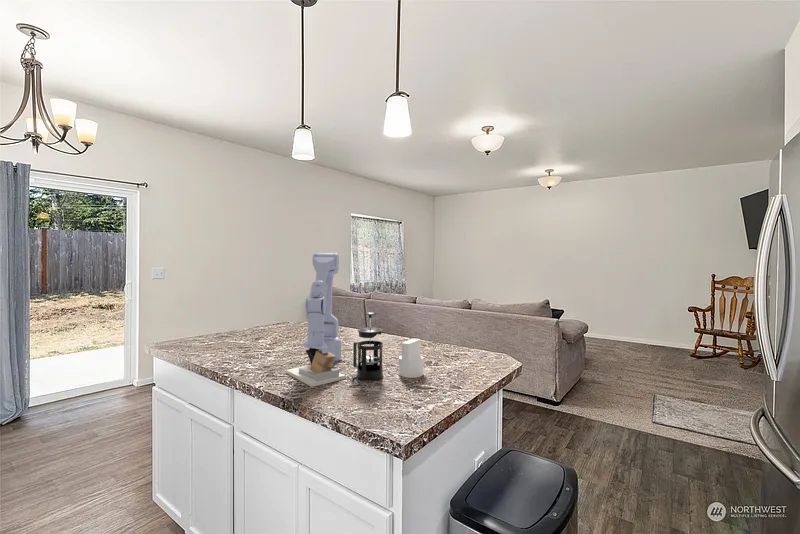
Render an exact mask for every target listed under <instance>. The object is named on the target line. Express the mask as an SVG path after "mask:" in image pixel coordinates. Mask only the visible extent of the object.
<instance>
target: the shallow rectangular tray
mask: <svg viewBox="0 0 800 534" xmlns="http://www.w3.org/2000/svg"><path fill="white" fill-rule="evenodd" d="M310 367H311V364H309V365H304V366H299V367H293V368H290V369H289V368H288V369H286V371H285V372H286V374H287V375H289V376H291V377H293V378H294V379H296V380H298V381H299V382H302V383H303V384H305V385H307V386H309V387H310V388H313V387H317V386H321V385H325V384H329V383H334V382H338V381H342V380H344V379H346V374H343V373H341V372H340V369H339V368H335V369H333V368H332V369H331V370H329V371H325V372H321V373H316V374H315V373H314V372H312V371H311V370H310Z"/></svg>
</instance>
